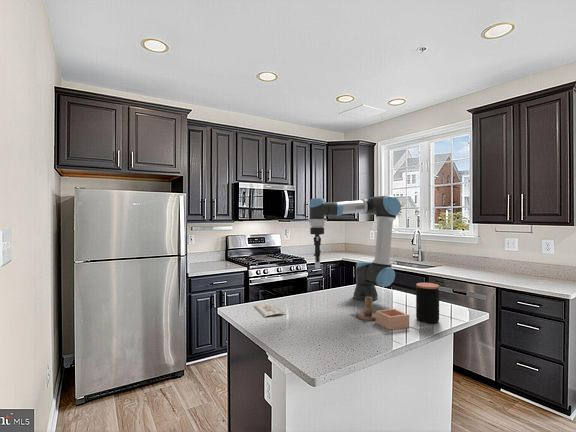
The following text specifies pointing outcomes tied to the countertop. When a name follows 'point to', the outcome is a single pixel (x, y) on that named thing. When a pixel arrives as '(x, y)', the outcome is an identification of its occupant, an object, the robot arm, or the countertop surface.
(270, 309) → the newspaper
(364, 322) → the mat
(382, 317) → the pink open box
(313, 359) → the countertop surface
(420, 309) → the coffee jar
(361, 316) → the lid
